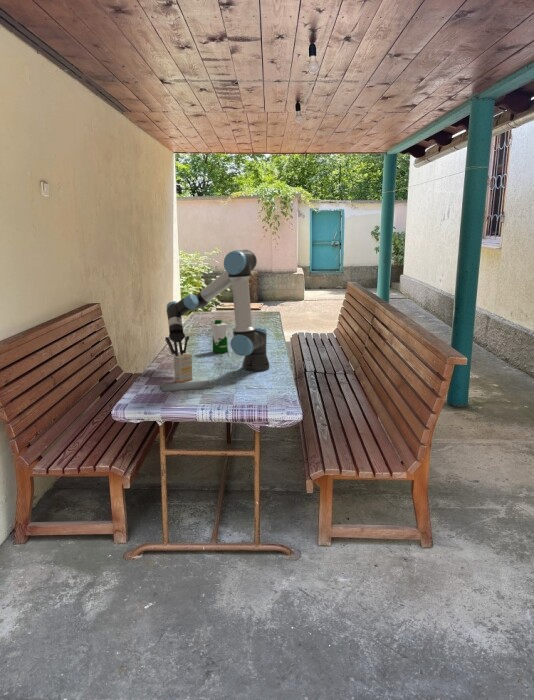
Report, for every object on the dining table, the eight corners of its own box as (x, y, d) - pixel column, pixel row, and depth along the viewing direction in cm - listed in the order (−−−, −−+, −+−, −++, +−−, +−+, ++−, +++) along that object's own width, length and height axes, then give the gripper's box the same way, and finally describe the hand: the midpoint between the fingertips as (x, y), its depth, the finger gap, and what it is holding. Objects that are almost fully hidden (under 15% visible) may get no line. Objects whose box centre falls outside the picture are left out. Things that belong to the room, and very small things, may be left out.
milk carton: (222, 350, 339) (222, 319, 335) (230, 352, 332) (229, 321, 327) (210, 351, 334) (210, 320, 329) (218, 354, 327) (217, 322, 322)
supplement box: (186, 378, 273) (185, 353, 270) (192, 379, 270) (192, 354, 267) (174, 381, 266) (173, 356, 264) (180, 383, 263) (179, 357, 261)
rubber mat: (208, 381, 266) (208, 380, 266) (213, 388, 255) (213, 387, 255) (160, 385, 260) (160, 384, 259) (162, 392, 248) (162, 390, 248)
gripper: (187, 330, 291) (192, 367, 279) (163, 331, 288) (167, 368, 276) (188, 322, 285) (193, 359, 273) (163, 323, 282) (168, 361, 270)
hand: (180, 364), depth 274 cm, fingers closed
